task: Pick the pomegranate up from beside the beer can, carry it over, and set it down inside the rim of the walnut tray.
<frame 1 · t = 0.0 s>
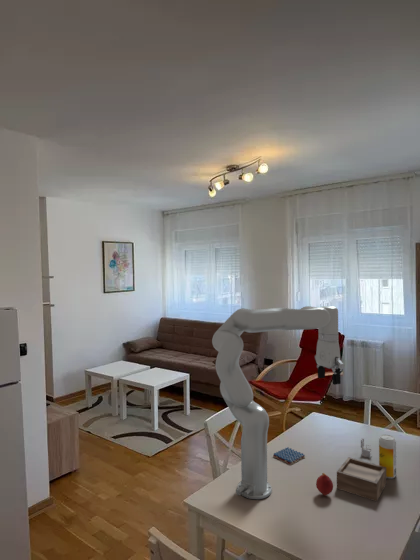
hand: (328, 380, 150), 37 cm above the table, tool pointing down, fingers open, 9 cm apart
pomegranate: (324, 495, 136), on the table
architectural model: (374, 454, 169), on the table
walnut tray: (361, 485, 142), on the table
woven mat: (288, 458, 165), on the table
beer can: (387, 475, 150), on the table
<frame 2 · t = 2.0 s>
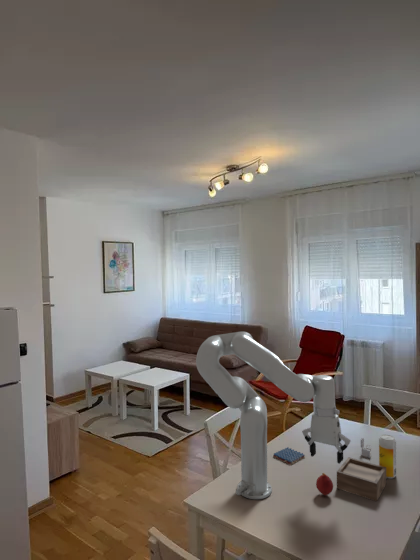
hand: (326, 458, 136), 13 cm above the table, tool pointing down, fingers open, 9 cm apart
nothing on the table moved.
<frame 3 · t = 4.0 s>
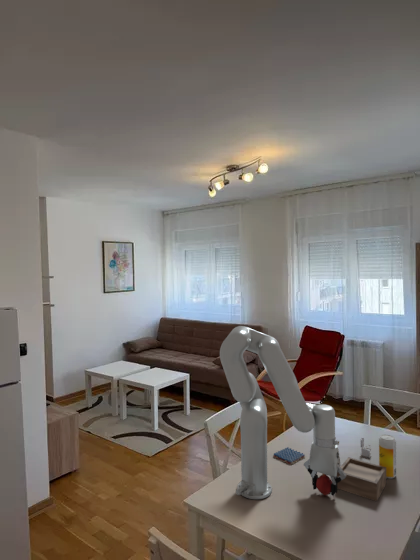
hand: (324, 490, 136), 2 cm above the table, tool pointing down, fingers closed on pomegranate, 5 cm apart
pomegranate: (324, 495, 136), on the table, touching gripper
everything else where it was.
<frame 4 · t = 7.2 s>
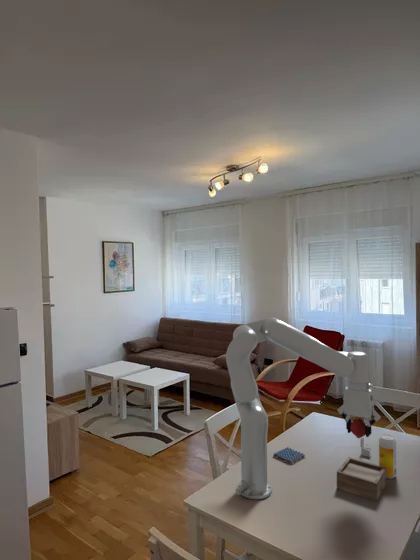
hand: (358, 433, 142), 20 cm above the table, tool pointing down, fingers closed on pomegranate, 5 cm apart
pomegranate: (358, 438, 142), point 18 cm above the table, touching gripper
everything else where it was.
when the fingers open (8 cm above the table, at t = 10.3 s): pomegranate drops 2 cm, resting on walnut tray.
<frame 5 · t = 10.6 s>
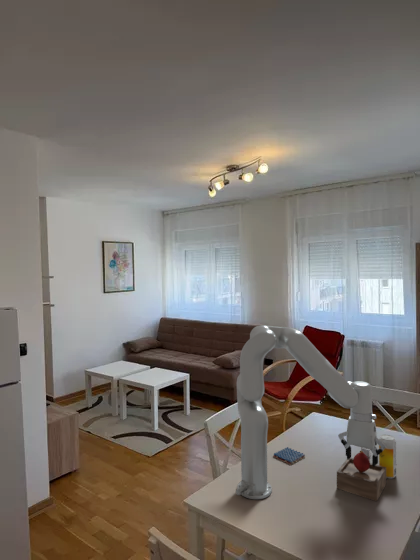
hand: (361, 461, 142), 9 cm above the table, tool pointing down, fingers open, 8 cm apart
pomegranate: (361, 473, 142), point 5 cm above the table, touching walnut tray
everything else where it was.
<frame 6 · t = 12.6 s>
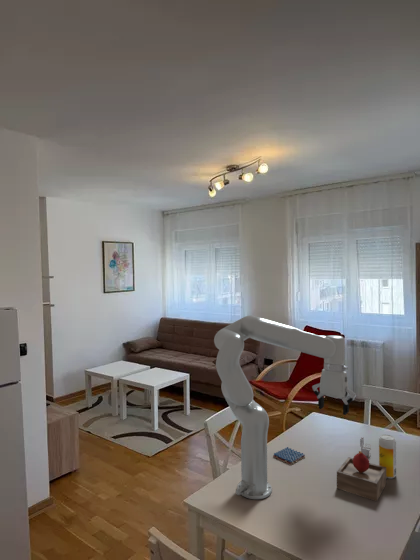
hand: (333, 411, 149), 26 cm above the table, tool pointing down, fingers open, 9 cm apart
nothing on the table moved.
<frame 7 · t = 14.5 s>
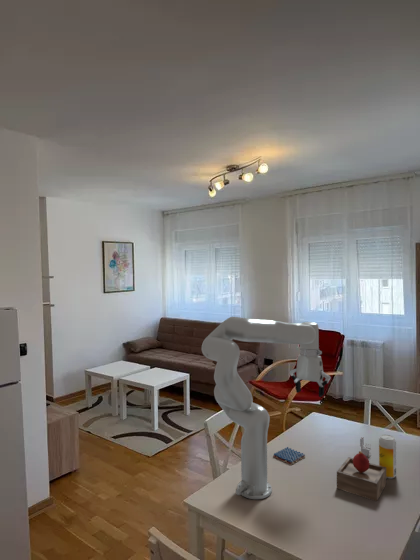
hand: (309, 393, 156), 30 cm above the table, tool pointing down, fingers open, 9 cm apart
nothing on the table moved.
at the end: pomegranate inside the target area on the walnut tray (0.1 cm from its centre), point 4.8 cm above the walnut tray's base; pomegranate touching walnut tray; the gripper is holding nothing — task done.
